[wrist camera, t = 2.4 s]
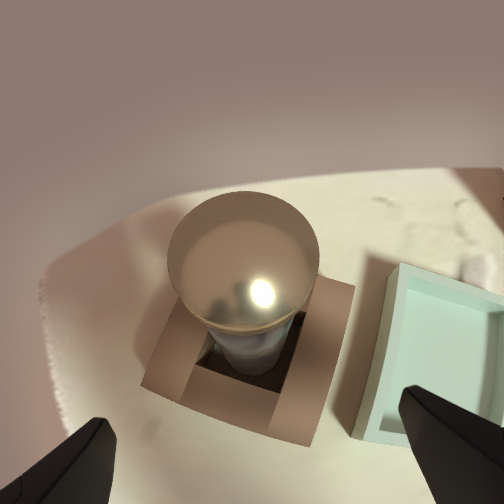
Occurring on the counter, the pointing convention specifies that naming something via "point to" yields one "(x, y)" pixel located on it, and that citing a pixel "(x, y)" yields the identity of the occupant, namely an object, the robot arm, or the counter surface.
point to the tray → (433, 351)
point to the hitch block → (246, 395)
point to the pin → (245, 273)
